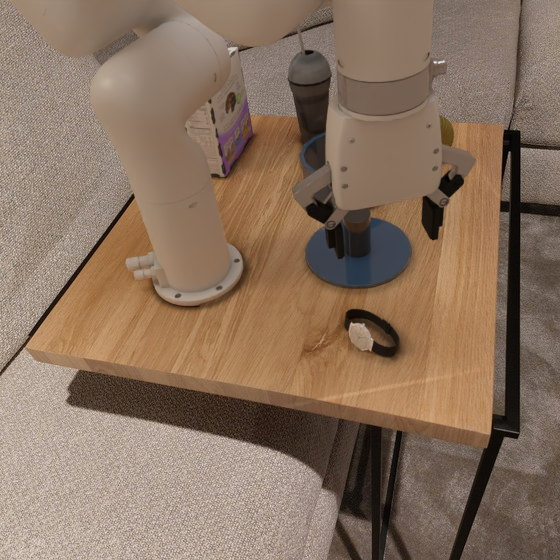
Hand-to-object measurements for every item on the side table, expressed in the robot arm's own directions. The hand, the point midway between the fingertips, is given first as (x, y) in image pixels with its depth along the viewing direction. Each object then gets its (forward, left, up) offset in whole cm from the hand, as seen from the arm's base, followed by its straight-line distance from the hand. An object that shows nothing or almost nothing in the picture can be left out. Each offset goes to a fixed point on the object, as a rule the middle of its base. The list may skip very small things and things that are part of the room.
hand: (383, 241), depth 60 cm
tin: (+2, +30, -14) cm, 33 cm away
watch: (-2, -1, -14) cm, 15 cm away
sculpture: (+16, +33, -14) cm, 40 cm away
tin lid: (0, +14, -14) cm, 20 cm away
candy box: (-16, +46, -14) cm, 51 cm away
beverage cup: (0, +46, -14) cm, 48 cm away
